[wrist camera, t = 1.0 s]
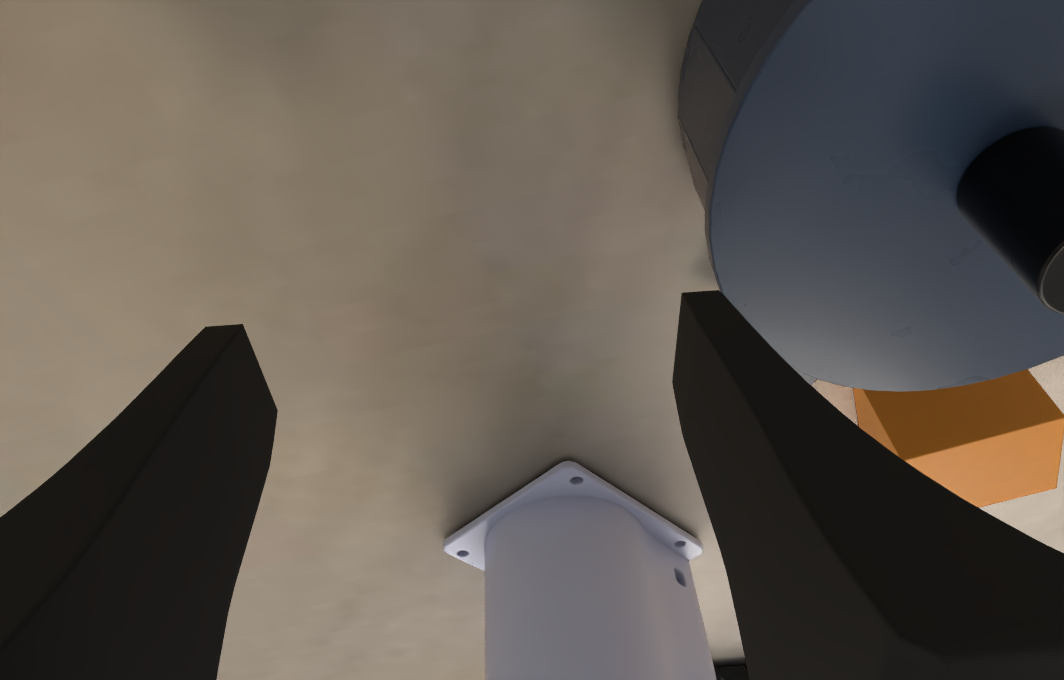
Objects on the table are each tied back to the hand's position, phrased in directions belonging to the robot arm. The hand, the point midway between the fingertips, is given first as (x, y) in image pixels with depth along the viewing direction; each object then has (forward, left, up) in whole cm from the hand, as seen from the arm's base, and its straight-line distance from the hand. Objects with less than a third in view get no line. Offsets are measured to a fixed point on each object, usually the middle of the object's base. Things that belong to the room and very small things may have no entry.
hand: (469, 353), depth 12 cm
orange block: (-20, -4, -10) cm, 23 cm away
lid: (-8, -9, -5) cm, 13 cm away
